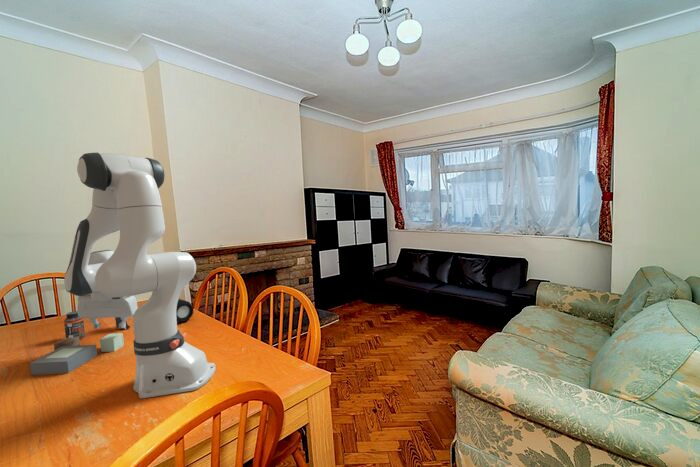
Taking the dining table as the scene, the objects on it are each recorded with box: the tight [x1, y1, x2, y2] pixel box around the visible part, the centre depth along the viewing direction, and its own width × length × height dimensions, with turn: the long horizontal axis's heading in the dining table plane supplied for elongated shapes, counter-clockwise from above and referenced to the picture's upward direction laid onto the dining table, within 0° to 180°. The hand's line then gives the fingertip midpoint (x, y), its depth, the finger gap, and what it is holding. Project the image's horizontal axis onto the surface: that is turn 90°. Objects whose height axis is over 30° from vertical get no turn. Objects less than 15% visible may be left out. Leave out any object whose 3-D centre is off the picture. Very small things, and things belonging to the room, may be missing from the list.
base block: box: [29, 344, 98, 376], centre depth 108 cm, size 12×12×4 cm
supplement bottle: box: [63, 310, 86, 341], centre depth 129 cm, size 6×6×11 cm
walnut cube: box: [53, 337, 81, 351], centre depth 116 cm, size 5×5×5 cm
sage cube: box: [99, 332, 125, 353], centre depth 119 cm, size 5×5×5 cm
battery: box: [114, 317, 131, 331], centre depth 139 cm, size 7×4×11 cm, turn 59°
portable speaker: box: [176, 298, 194, 323], centre depth 150 cm, size 26×10×10 cm, turn 54°
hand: (109, 327), depth 118 cm, fingers open, 8 cm apart
